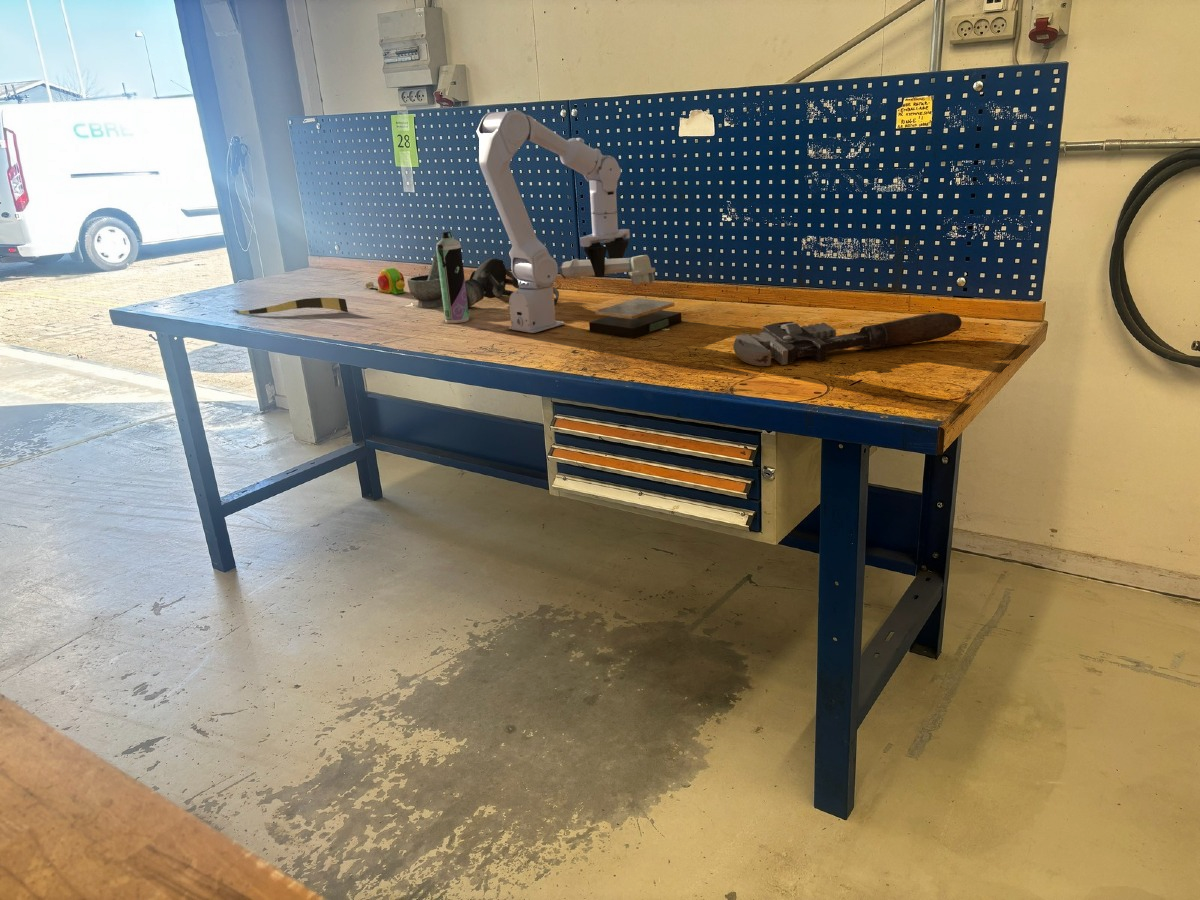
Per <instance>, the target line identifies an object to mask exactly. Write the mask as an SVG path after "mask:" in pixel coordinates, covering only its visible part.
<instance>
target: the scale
mask: <svg viewBox="0 0 1200 900" xmlns="http://www.w3.org/2000/svg"><path fill="white" fill-rule="evenodd" d="M681 322H682V312H678V311H671V310H665V309H663V310H660V311H657V312H654V313H651V314H648V315H644V316H641V317H638V318H635V319H625V318H618V317H611V316H604V317H602V318H599V319H595V320H592V321H589V322H588V325H589V326H588V327H589V332H591V333H598V334H605V335H611V336H617V337H624V338H629V339H634V338H638V337H641V336H645V335H647V334H650V333H653V332H656V331H658V330H662V329H665V328H668V327H670V326H673V325H676V324H679V323H681Z"/></svg>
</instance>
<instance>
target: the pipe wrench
mask: <svg viewBox="0 0 1200 900" xmlns="http://www.w3.org/2000/svg"><path fill="white" fill-rule="evenodd" d="M962 321H963V320H962V318H961V317H960V316H959V315H958V314H953V313H948V312H933V313H931V312H930V313H923V314H919V315H914V316H908V317H904V318H899V319H894V320H890V321H885V322H882V323H876V324H871V325H865V326H862V327H861V328H860V330H859V331H856V332H852V333H846V334H840V335H837V330H836V329H835V328H833V327H832V326H831V325H829V324H827V323H825V322H821V323H815V324H808V325H802V326H801V325H799V324H798V323H797V322H794V321H783V322H774V323H771V324H766V325H763V326H762V332H758V333H750V334H749V333H747V332H745V333H741V334H738V335H737V336H736V337H735V339H734V342H733V346H732V347H733V351H734V353H735V355H736V357H737V358H738V359H739V360H740V361H742V362H743V363H746V364H749V365H753V366H758V367H769V366H771V363H772V359H774V360H775V361H776V362H777V363H779V364H780V365H781V366H785V365H790V364H791V363H793V362H794V361H795V359H799V358H803V357H809V358H812V359H813V360H815V361H817V362H821V361H826V359H827V353H831V352H835V351H841V350H847V349H850V348H851V349H852V348H859V347H862V348H863V349H864V350H871V349H876V348H883V347H892V346H893V347H894V346H901V345H909V344H916V343H922V342H930V341H934V340H937V339H941V338H944V337H948V336H949V335H951V334H954V333H955V332H956V331H959V330H960V329H961V327H962V325H963V323H962Z"/></svg>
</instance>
